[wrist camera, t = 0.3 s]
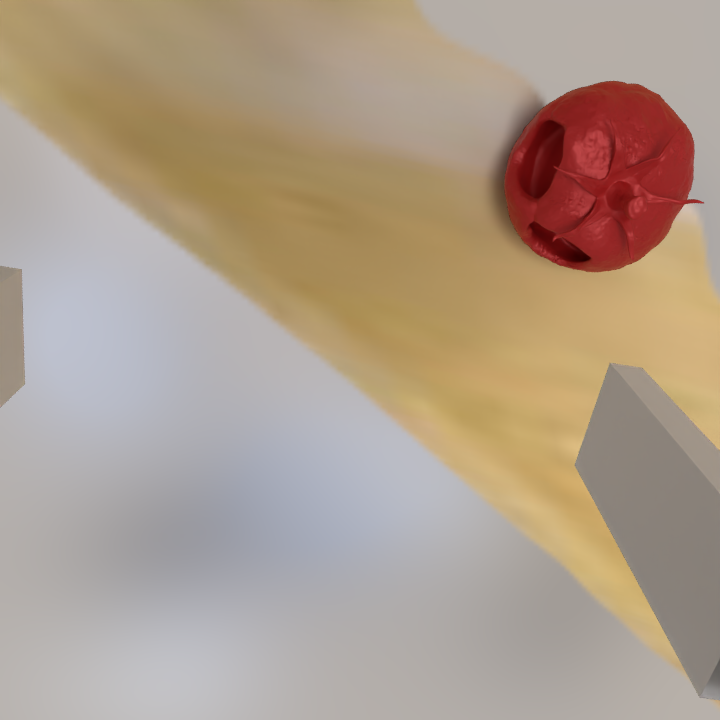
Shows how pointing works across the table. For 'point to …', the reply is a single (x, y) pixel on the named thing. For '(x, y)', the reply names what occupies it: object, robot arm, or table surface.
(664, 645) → the table surface
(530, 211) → the pomegranate
